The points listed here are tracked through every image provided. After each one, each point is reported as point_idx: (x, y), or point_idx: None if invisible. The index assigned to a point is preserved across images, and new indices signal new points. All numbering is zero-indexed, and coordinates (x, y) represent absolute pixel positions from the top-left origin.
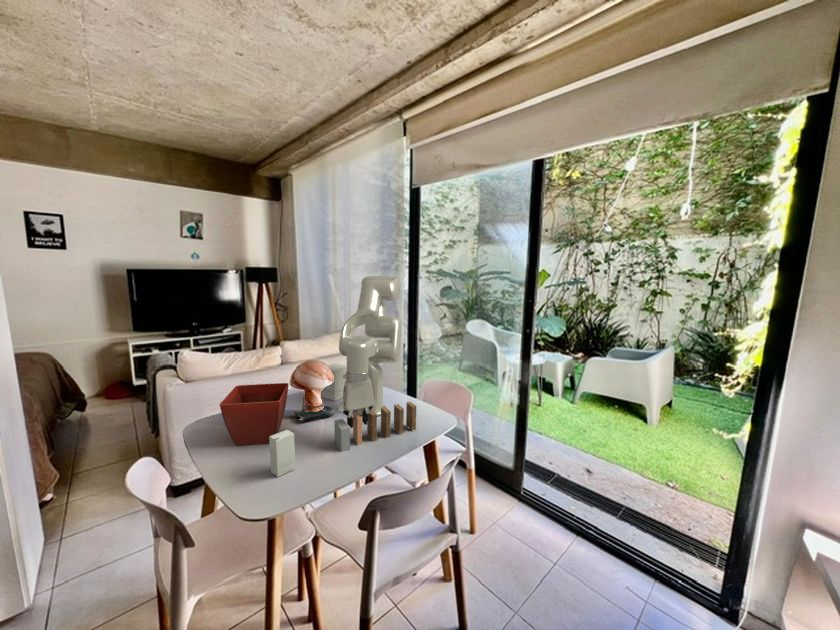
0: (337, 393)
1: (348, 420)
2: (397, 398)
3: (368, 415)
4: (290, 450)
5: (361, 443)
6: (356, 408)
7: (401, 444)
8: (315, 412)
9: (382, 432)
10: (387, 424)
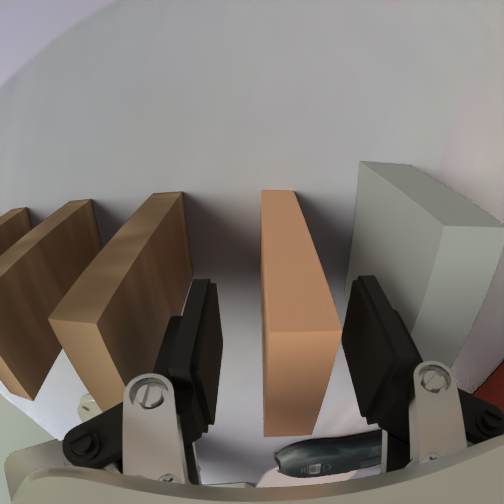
0: None
1: (413, 344)
2: (53, 427)
3: None
4: None
5: (264, 191)
6: (431, 488)
7: (38, 95)
8: (348, 460)
9: None
10: (33, 241)
